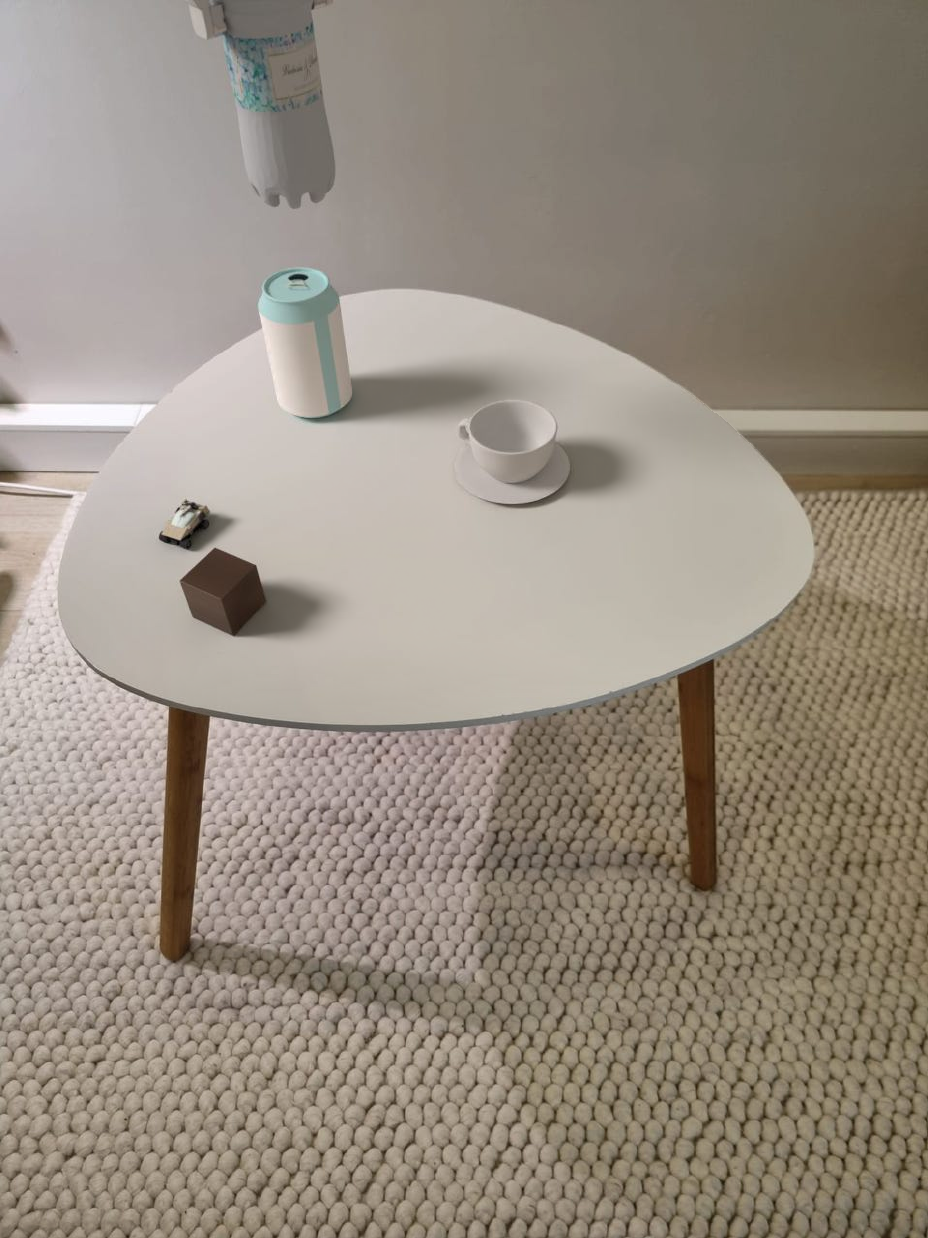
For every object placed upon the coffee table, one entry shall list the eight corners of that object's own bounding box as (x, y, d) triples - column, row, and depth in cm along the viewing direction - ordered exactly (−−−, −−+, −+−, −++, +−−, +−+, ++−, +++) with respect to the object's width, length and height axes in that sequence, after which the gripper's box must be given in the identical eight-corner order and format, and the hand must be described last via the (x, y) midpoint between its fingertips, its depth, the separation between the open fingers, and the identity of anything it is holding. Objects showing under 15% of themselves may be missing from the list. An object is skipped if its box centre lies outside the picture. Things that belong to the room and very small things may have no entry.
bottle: (296, 225, 66) (232, -139, 51) (229, 200, 69) (151, -150, 54) (360, 188, 69) (319, -162, 54) (295, 167, 72) (238, -172, 57)
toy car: (160, 542, 78) (153, 524, 76) (189, 511, 80) (183, 493, 79) (187, 551, 77) (180, 532, 75) (215, 519, 79) (209, 501, 78)
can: (265, 397, 91) (239, 280, 82) (328, 370, 93) (310, 254, 84) (302, 432, 87) (279, 314, 78) (367, 403, 89) (352, 285, 81)
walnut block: (233, 636, 71) (221, 600, 68) (192, 617, 72) (178, 580, 69) (266, 601, 73) (256, 565, 70) (226, 583, 74) (214, 546, 71)
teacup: (587, 452, 84) (590, 408, 80) (540, 521, 78) (542, 477, 74) (485, 423, 87) (484, 379, 83) (433, 487, 81) (430, 443, 78)
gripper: (343, -301, 56) (369, -27, 66) (8, -257, 48) (98, 48, 58) (407, -295, 53) (424, -7, 63) (59, -247, 45) (144, 75, 55)
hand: (265, 20), depth 61 cm, fingers closed on bottle, 6 cm apart
